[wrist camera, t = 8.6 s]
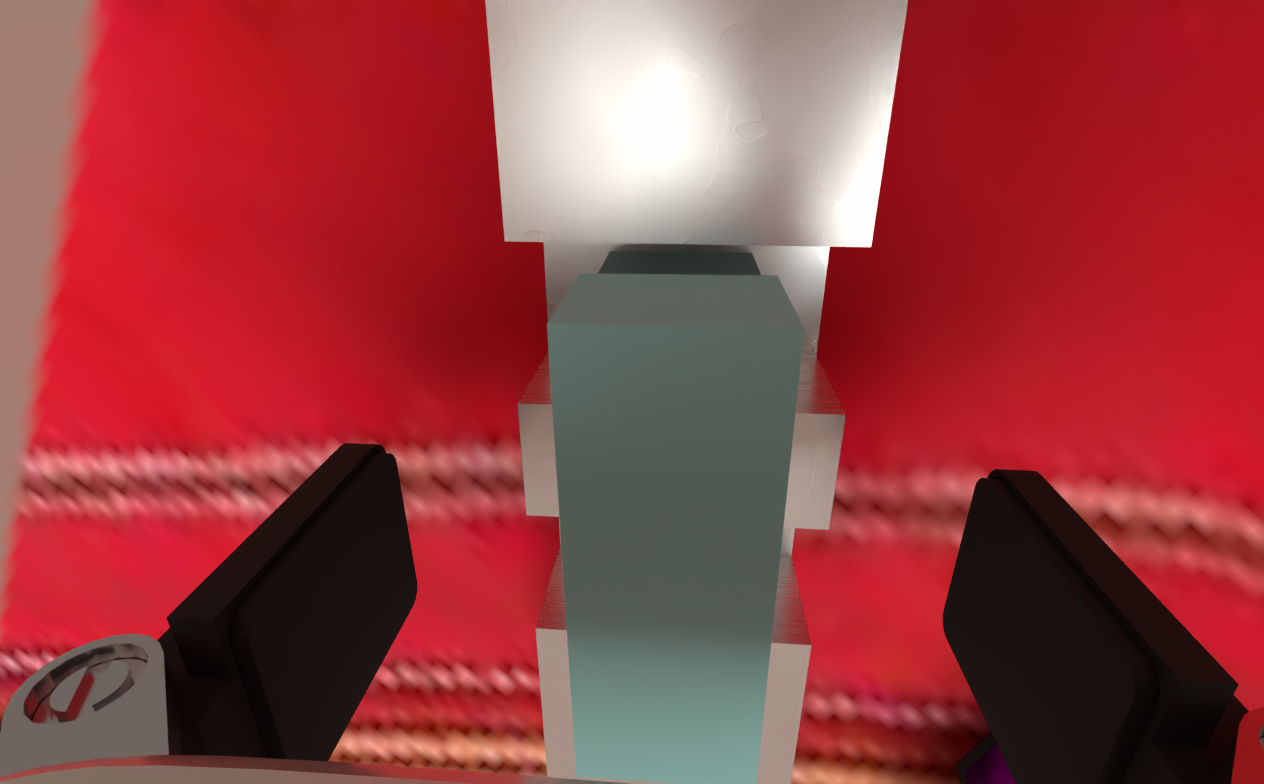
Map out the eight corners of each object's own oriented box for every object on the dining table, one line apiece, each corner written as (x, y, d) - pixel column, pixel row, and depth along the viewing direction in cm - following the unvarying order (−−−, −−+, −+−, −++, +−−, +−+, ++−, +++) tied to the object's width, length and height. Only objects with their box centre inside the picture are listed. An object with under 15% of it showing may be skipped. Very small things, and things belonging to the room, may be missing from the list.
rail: (535, -110, 12) (468, -201, 8) (862, -118, 12) (940, -217, 8) (574, 673, 20) (549, 798, 17) (767, 686, 20) (785, 817, 16)
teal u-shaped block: (609, 227, 14) (546, 324, 8) (753, 228, 13) (804, 328, 7) (616, 539, 17) (576, 776, 11) (732, 544, 17) (755, 789, 11)
